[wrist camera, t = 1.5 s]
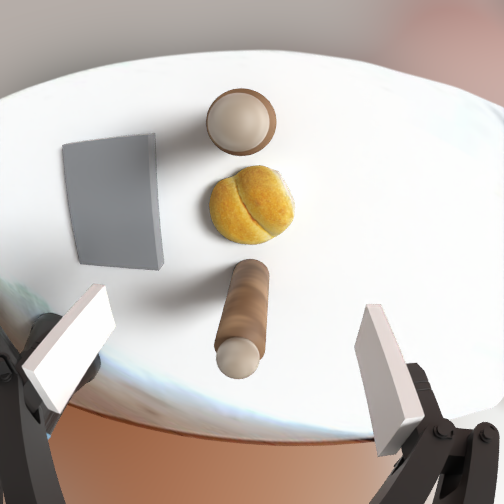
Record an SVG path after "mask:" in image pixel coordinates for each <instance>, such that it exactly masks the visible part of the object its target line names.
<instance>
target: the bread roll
mask: <svg viewBox="0 0 504 504" xmlns="http://www.w3.org/2000/svg"><path fill="white" fill-rule="evenodd" d="M209 208H210V214H211V219H212V221H213V224H214V226H215V227H216V229H217V230H218V232H219V233H220V234H222V235H223V236H224V237H225V238H227V239H229V240H230V241H233V242H236V243H240V244H250V245H256V244H260V243H264V242H266V241H268V240H270V239H272V238H274V237H276V236H278V235H279V234H281V233H282V232H283V231H284V230H285V229H286V228H287V227H288V226H289V225H290V224H291V222H292V221H293V218H294V212H295V211H294V210H295V202H294V199H293V197H292V195H291V192H290V190H289V188H288V186H287V184H286V182H285V181H284V180H283V178H282V176H281V174H280V173H279V171H276V170H273V169H270V168H268V167H265V166H260V165H259V166H250V167H247V168H244V169H242V170H241V171H240V172H238V173H237V174H236V175H234V176H232V177H229V178H226V179H223V180H221V181H219V182H218V183H217V184H216V186H215V187H214V189H213V191H212V194H211V198H210V203H209Z"/></svg>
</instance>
